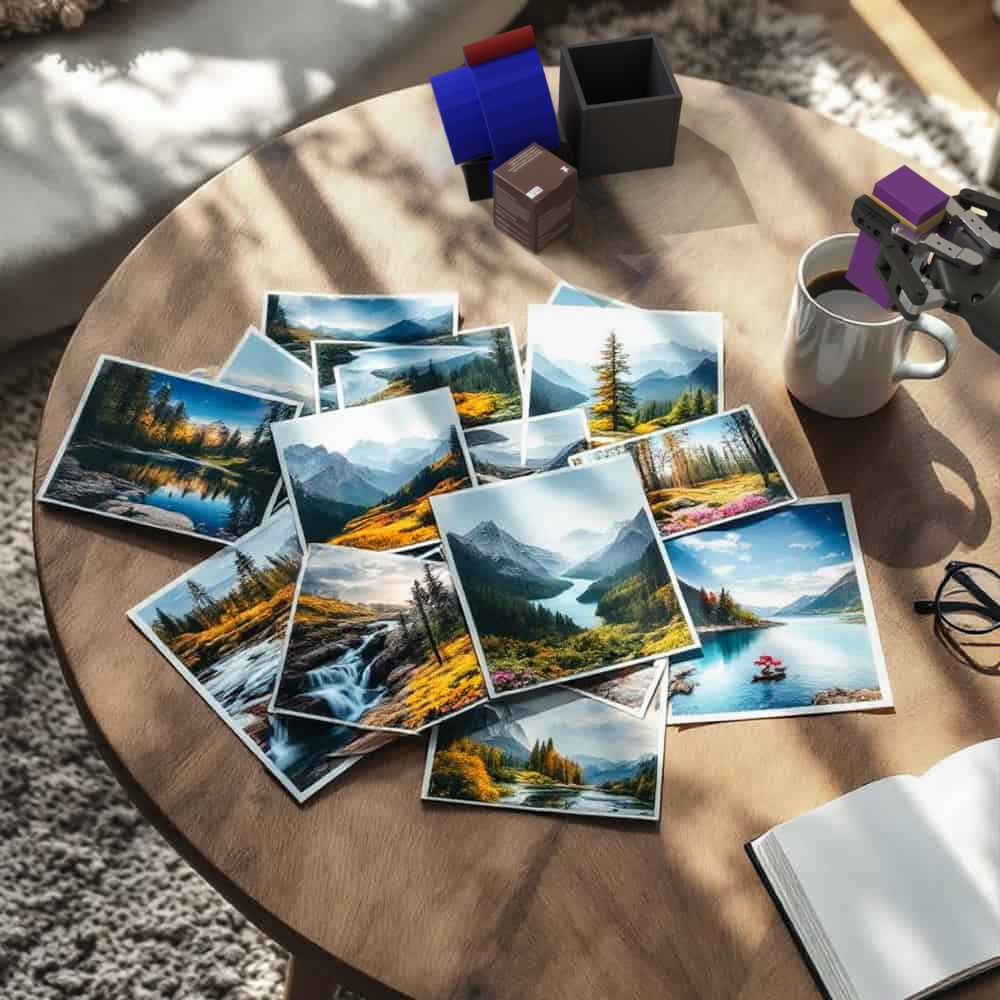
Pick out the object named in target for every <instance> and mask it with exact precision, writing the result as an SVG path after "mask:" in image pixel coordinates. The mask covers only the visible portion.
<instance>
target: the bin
mask: <svg viewBox="0 0 1000 1000" xmlns="http://www.w3.org/2000/svg"><path fill="white" fill-rule="evenodd" d="M559 56H560V57H559V78H558V79H559V80H558V82H559V83H558V101H557V102H558V103H557V116H558V120H559V122H560V125H561V128H562V131H563V135H564V138H565V141H566V144H567V147H568V151H569V153H570V157H571V159H572V162H573V165H574V169H576V170H577V171H578V173H577V179H585V178H592V177H599V176H605V175H613V174H614V175H615V174H620V173H621V174H622V173H627V172H635V171H643V170H649V169H657V168H664V167H671V166H672V167H673V166H674V163H675V156H676V155H675V154H676V148H677V142H678V141H677V140H678V133H679V129H680V128H679V126H680V119H681V113H682V112H681V111H682V105H683V98H684V97H683V93H682V91H681V89H680V86H679V84H678V82H677V79H676V76H675V74H674V72H673V70H672V67H671V64H670V62H669V60H668V57H667V55H666V52H665V50H664V47H663V45H662V42H661V40H660V38H659V36H658V33H651V34H650V33H649V34H642V35H635V36H634V35H633V36H626V37H618V38H609V39H603V40H602V39H601V40H594V41H585V42H578V43H572V44H571V43H570V44H563V45H560V54H559Z"/></svg>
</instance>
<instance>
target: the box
mask: <svg viewBox="0 0 1000 1000" xmlns="http://www.w3.org/2000/svg"><path fill="white" fill-rule="evenodd" d="M577 173H578V171H577V170H576V169H575V167H573V166H571V165H570V164H568V163H567V162H566V161H564V160H562V159H561V158H559V157H558V156H557V157H556V156H555V155H553V154H552V153H550V152H549V151H547V150H546V149H544V148H543V147H541V146H540V145H538V144H537V143H535V142H534V143H533V144H531V145H530V146H528V147H527V148H525V149H524V150H522V151H521V152H520V153H518V154H517V155H515V156H514V157H512V158H511V159H510V160H508V161H507V162H505V163H504V164H502V165H501V166H500V167H498V168H497V169H495V170H494V171H493V198H492V204H493V205H492V207H493V208H492V211H493V212H492V213H493V216H492V218H493V221H492V222H493V225H494V227H495V228H496V229H498V230H499V231H500V232H502V233H503V234H505V235H506V236H507V237H510V239H512V240H514V241H515V242H517V243H518V244H519V245H520V246H522V247H523V248H525V249H526V250H527V251H528V252H529V253H531V254H533V255H536V254H538V252H540V251H542V250H543V249H545V247H547V246H548V245H549V244H551V243H552V242H553V241H555V240H556V239H557V238H559V237H560V236H562V235H563V234H564V233H566V232H567V231H568V230H569V229H571V228H572V227H573V226H575V224H576V207H577V206H576V205H577V189H578V188H577V187H578V186H577V185H578V175H577Z"/></svg>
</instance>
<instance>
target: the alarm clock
mask: <svg viewBox="0 0 1000 1000" xmlns="http://www.w3.org/2000/svg"><path fill="white" fill-rule="evenodd" d="M461 48H462V54H463V58H464V59H463V60H464V62H465V65H464V66H460V67H458V68H454V69H451V70H449V71H448V70H447V71H444V72H442V73H438V74H436V75H432V76H429V81H430V82H429V83H430V85H431V89H432V93H433V97H434V100H435V103H436V107H437V109H438V113H439V117H440V120H441V123H442V127H443V131H444V133H445V137H446V140H447V144H448V146H449V150H450V153H451V157H452V160H453V163H454V166H459V165H461V164H463V165H461V169H462V173H463V177H464V182H465V186H466V190H467V195H468V200H469V202H476V201H481V200H488V199H493V171H494V170H495V169H497V168H498V167H500V166H501V165H502V164H504V163H505V162H507V161H508V160H510V159H511V158H512V157H514V156H515V155H517V154H518V153H520V152H521V151H522V150H524V149H525V148H527V147H528V146H530V145H531V144H533V143H534V142H535V143H537V144H538V145H540V146H541V147H543V148H544V149H546V150H547V151H549V152H550V153H552V154H553V155H555V156H556V157H558V152H557V149H559V148H560V147H561V139H560V132H559V126H558V125H559V124H558V121H557V116H556V111H555V107H554V103H553V99H552V95H551V91H550V87H549V84H548V80H547V77H546V72H545V69H544V65H543V63H542V60H541V56H540V53H539V50H538V48H537V40H536V36H535V32H534V29H533V26H532V25H531V24H529V25H526V26H523V27H519V28H516V29H513V30H510V31H507V32H503V33H501V34H497V35H494V36H491V37H487V38H483V39H481V40H478V41H475V42H471V43H467V44H465V45H462V46H461ZM487 156H491V157H492V159H490V160H483V161H478V162H471V163H468V162H470V161H474V160H477V159H480V158H481V159H482V158H484V157H487Z"/></svg>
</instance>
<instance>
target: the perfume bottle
mask: <svg viewBox="0 0 1000 1000" xmlns="http://www.w3.org/2000/svg"><path fill="white" fill-rule="evenodd" d="M948 195H949V194H947V193H946V192H944V191H943V190H942V189H940V188H939V187H937V186H936V185H934V184H933V183H932V182H931V181H929V180H928V179H926V178H924V177H923V176H922V175H920V174H919V173H917V172H916V171H914V170H913V169H912V168H910V167H909V166H908V165H906V164H903V165H902V166H900V167H898V168H897V169H895V170H893V171H892V172H890V173H889V174H887V175H886V176H884V177H882V178H881V179H879V180H878V181H876V182H875V183H874V186H873V190H872V193H870V195H869V197H870V198H871V199H873V200H874V201H875V202H877V203H878V204H880V205H881V206H882V207H884V208H885V209H886V210H888V211H889V212H890V213H892V214H893V215H894V216H896V217H897V218H899V219H900V221H899V223H902V224H905V225H907V226H909V227H910V228H912V229H914V230H916V231H918V232H920V233H922V234H927V233H934V234H936V232H937V229H938V227H939V224H940V222H941V221H942V219H943V216H944V214H945V211H946V206H947V204H948V201H949V198H950V196H951V195H949V196H948ZM936 235H937V234H936ZM880 246H881V245H880V244H879V243H877V242H876V241H875V240H873V239H872V238H871V237H869V236H868V235H867V234H866V233H864V232H863V231H862V230H860V229H859V233H858V236H857V239H856V242H855V246H854V249H853V252H852V255H851V258H850V261H849V264H848V267H847V271H846V274H845V277H844V278H845V279H846V280H847V281H848V282H850V283H851V284H852V285H853V286H854V287H856V288H857V289H858V290H860V291H861V292H862V293H863V294H865V295H866V296H867V297H868V298H870V299H871V300H873V302H875V303H876V304H877V305H879V306H880V307H882V308H883V309H884V310H888V309H890V308H891V307H893V306H894V305H895V303H894V301H893V300H892V298H891V297H890V295H889V293H888V292H887V290H886V288H885V287H884V285H883V284H882V282H881V280H880V279H879V277H878V275H877V274H876V272H875V271H874V268H873V267H874V264H875V261H876V259H877V256H878V254H879V251H880ZM903 247H905V248H907V249H909V250H910V251H912V252H914V253H915V249H914V248H912V247H911V246H909V245H907V244H905V243H904V246H903Z"/></svg>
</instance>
